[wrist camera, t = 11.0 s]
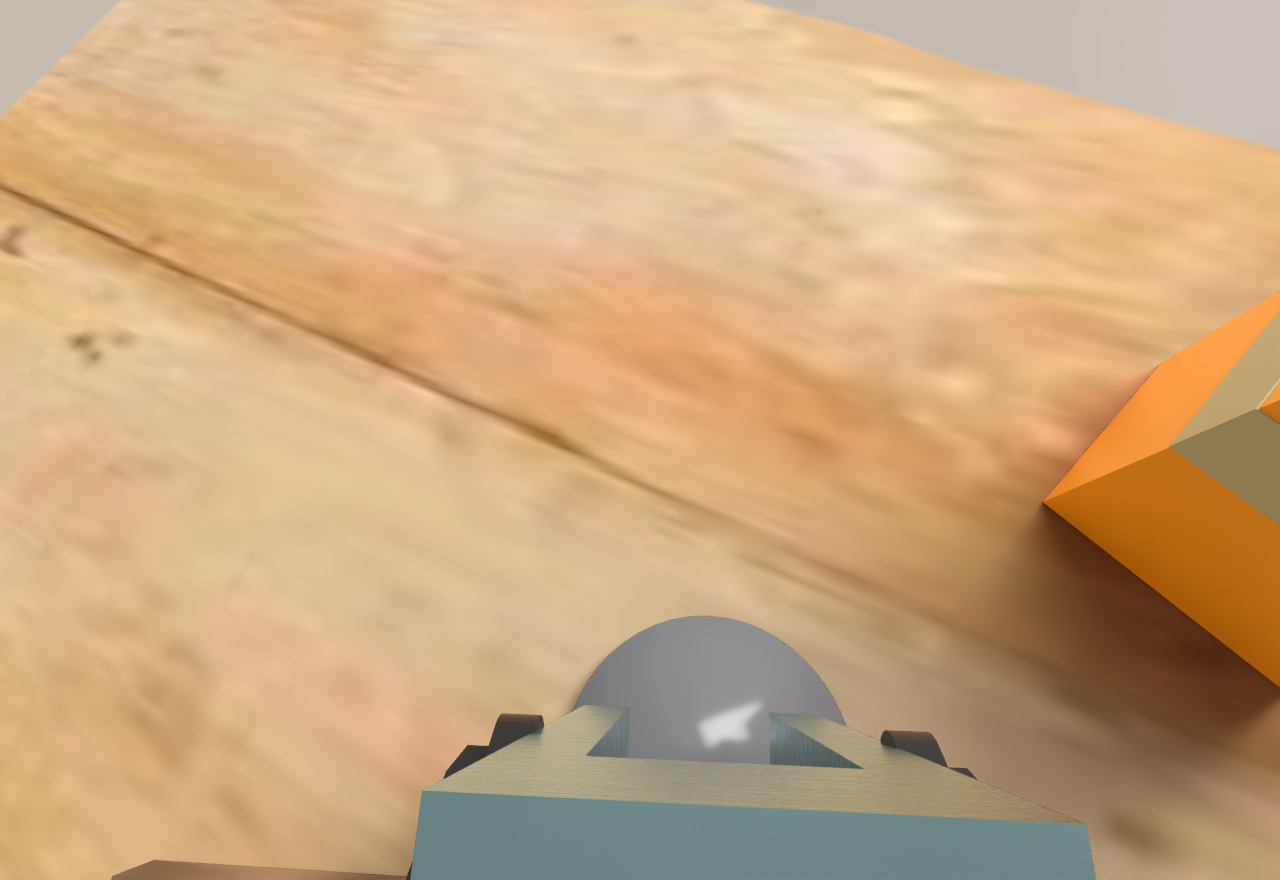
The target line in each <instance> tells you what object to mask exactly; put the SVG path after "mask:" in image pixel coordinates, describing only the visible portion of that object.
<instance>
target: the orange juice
mask: <svg viewBox="0 0 1280 880" xmlns="http://www.w3.org/2000/svg"><path fill="white" fill-rule="evenodd" d="M1043 503H1044V504H1046V505H1047V506H1048V507H1050V508H1051V509H1052V510H1053V511H1055V512H1056V513H1057V514H1059V515H1060V516H1061V517H1062V518H1064V519H1065V520H1066V521H1067V522H1069V523H1070V524H1071V525H1073V526H1074V527H1075V528H1076V529H1078V530H1079V531H1080V532H1082V533H1083V534H1084V535H1085V536H1087V537H1088V538H1089V539H1090V540H1092V541H1093V542H1094V543H1096V544H1097V545H1098V546H1099V547H1101V548H1102V549H1103V550H1105V551H1106V552H1107V553H1108V554H1110V555H1111V556H1112V557H1113V558H1115V559H1116V560H1117V561H1119V562H1120V563H1121V564H1122V565H1124V566H1125V567H1126V568H1128V569H1129V570H1130V571H1131V572H1133V573H1134V574H1135V575H1136V576H1138V577H1139V578H1140V579H1142V580H1143V581H1144V582H1145V583H1147V584H1148V585H1149V586H1151V587H1152V588H1153V589H1154V590H1156V591H1157V592H1158V593H1159V594H1161V595H1162V596H1163V597H1165V598H1166V599H1167V600H1168V601H1170V602H1171V603H1172V604H1174V605H1175V606H1176V607H1177V608H1179V609H1180V610H1181V611H1182V612H1184V613H1185V614H1186V615H1188V616H1189V617H1190V618H1191V619H1193V620H1194V621H1195V622H1197V623H1198V624H1199V625H1200V626H1202V627H1203V628H1204V629H1205V630H1207V631H1208V632H1209V633H1211V634H1212V635H1213V636H1214V637H1216V638H1217V639H1218V640H1219V641H1221V642H1222V643H1223V644H1225V645H1226V646H1227V647H1228V648H1230V649H1231V650H1232V651H1234V652H1235V653H1236V654H1237V655H1239V656H1240V657H1241V658H1242V659H1244V660H1245V661H1246V662H1248V663H1249V664H1250V665H1251V666H1253V667H1254V668H1255V669H1257V670H1258V671H1259V672H1260V673H1262V674H1263V675H1264V676H1265V677H1267V678H1268V679H1269V680H1271V681H1272V682H1273V683H1274V684H1276V685H1277V686H1278V687H1280V291H1279V292H1277V293H1275V294H1274V295H1272V296H1271V297H1269V298H1267V299H1266V300H1264V301H1262V302H1261V303H1259V304H1258V305H1256V306H1254V307H1253V308H1251V309H1249V310H1248V311H1246V312H1244V313H1243V314H1241V315H1240V316H1238V317H1236V318H1235V319H1233V320H1231V321H1230V322H1228V323H1226V324H1225V325H1223V326H1222V327H1220V328H1218V329H1217V330H1215V331H1213V332H1212V333H1210V334H1209V335H1207V336H1205V337H1204V338H1202V339H1200V340H1199V341H1197V342H1195V343H1194V344H1192V345H1191V346H1189V347H1187V348H1186V349H1184V350H1182V351H1181V352H1179V353H1178V354H1176V355H1174V356H1173V357H1171V358H1169V359H1168V360H1166V361H1164V362H1163V363H1161V364H1160V365H1159V366H1158V367H1157V368H1156V369H1155V371H1154V372H1153V373H1152V374H1151V375H1150V376H1149V378H1148V379H1147V380H1146V381H1145V382H1144V383H1143V385H1142V386H1141V387H1140V388H1139V389H1138V391H1137V392H1136V393H1135V394H1134V395H1133V396H1132V398H1131V399H1130V400H1129V401H1128V402H1127V403H1126V405H1125V406H1124V407H1123V408H1122V409H1121V410H1120V412H1119V413H1118V414H1117V415H1116V416H1115V418H1114V419H1113V420H1112V421H1111V422H1110V423H1109V425H1108V426H1107V427H1106V428H1105V429H1104V430H1103V432H1102V433H1101V434H1100V435H1099V436H1098V437H1097V439H1096V440H1095V441H1094V442H1093V443H1092V444H1091V446H1090V447H1089V448H1088V449H1087V450H1086V452H1085V453H1084V454H1083V455H1082V456H1081V457H1080V459H1079V460H1078V461H1077V462H1076V463H1075V464H1074V466H1073V467H1072V468H1071V469H1070V470H1069V471H1068V473H1067V474H1066V475H1065V476H1064V477H1063V478H1062V480H1061V481H1060V482H1059V483H1058V484H1057V486H1056V487H1055V488H1054V489H1053V490H1052V491H1051V493H1050V494H1049V495H1048V496H1047V497H1046V498H1045V500H1044V501H1043Z"/></svg>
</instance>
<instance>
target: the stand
mask: <svg viewBox="0 0 1280 880" xmlns="http://www.w3.org/2000/svg"><path fill="white" fill-rule="evenodd" d="M112 880H406V876H390V875H375V874H359V873H344V872H328V871H313V870H297V869H281V868H266V867H250V866H235V865H219V864H204V863H188V862H173V861H157V860H153V861H150V862H148V863H145V864H143V865H140V866H137V867H135V868H132V869H130V870H127V871H124V872H122V873H119V874H117V875H114V876H112Z"/></svg>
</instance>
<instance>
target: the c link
mask: <svg viewBox="0 0 1280 880" xmlns="http://www.w3.org/2000/svg"><path fill="white" fill-rule="evenodd" d="M629 713H630V707H619V706H595V705H583V706H582V707H580V708H578V709H576V710H574V711H572V712H570V713H568V714H566V715H565V716H563V717H561V718H559V719H557V720H555V721H553V722H551V723H549V724H547V725H546V726H544V728H542V729H540V730H538V731H536V732H534V733H530V734H528V735H527V736H525V737H523V738H521V739H519V740H517V741H515V742H513V743H511V744H509V745H508V746H506V747H504V748H502V749H500V750H498V751H496V752H494V753H492V754H491V755H489V756H487V757H485V758H483V759H481V760H479V761H477V762H475V763H473V764H472V765H470V766H468V767H466V768H464V769H462V770H460V771H458V772H456V773H454V774H453V775H451V776H449V777H447V778H445V779H443V780H441V781H439V782H437V783H436V784H434V785H432V786H430V787H428V788H426V789H424V790H422V796H421V804H420V811H419V819H418V826H417V834H416V841H415V848H414V856H413V863H412V871H411V878H410V880H1096V877H1095V872H1094V866H1093V860H1092V855H1091V849H1090V844H1089V838H1088V833H1087V827H1086V824H1085V823H1082V822H1080V821H1077V820H1075V819H1072V818H1070V817H1067V816H1065V815H1062V814H1060V813H1057V812H1055V811H1052V810H1050V809H1047V808H1045V807H1043V806H1040V805H1038V804H1035V803H1033V802H1030V801H1028V800H1025V799H1023V798H1020V797H1018V796H1015V795H1013V794H1010V793H1008V792H1006V791H1003V790H1001V789H998V788H996V787H993V786H991V785H988V784H986V783H983V782H981V781H978V780H976V779H973V778H971V777H968V776H966V775H964V774H961V773H959V772H956V771H954V770H951V769H949V768H946V767H944V766H941V765H939V764H936V763H934V762H931V761H929V760H927V759H924V758H922V757H919V756H917V755H914V754H912V753H909V752H907V751H904V750H902V749H896V748H894V747H892V746H889V745H887V744H884V743H882V742H880V740H877V739H875V738H872V737H870V736H867V735H865V734H862V733H860V732H857V731H855V730H852V729H850V728H848V727H845V726H843V725H840V724H838V723H835V722H833V721H830V720H828V719H825V718H823V717H820V716H818V715H813V714H789V713H769V742H770V765H766V764H745V763H723V762H701V761H680V760H658V759H637V758H628V740H629Z"/></svg>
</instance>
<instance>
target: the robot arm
mask: <svg viewBox="0 0 1280 880" xmlns="http://www.w3.org/2000/svg"><path fill="white" fill-rule="evenodd" d="M542 728H544V722H543V717H542V716H541V715H526V714H501V715H500V716H499V718H498V720H497V722H496V725H495V728H494V731H493V734H492V737H491V741H490V744H489V746H475V745H467V747H466V748H465V749H464V750H463V752H462V753H461V754H460V755H459V756H458V758H457V759H456V760H455V761H454V763H453V764H452V765H451V766H450V767H449V769H448V770H447V771H446V773H445V776H444V779H445V778H447V777H449V776H451V775H453V774H454V773H456V772H458V771H460V770H462V769H464V768H466V767H468V766H470V765H472V764H473V763H475V762H477V761H479V760H481V759H483V758H485V757H487V756H489V755H491V754H492V753H494V752H496V751H498V750H500V749H502V748H504V747H506V746H508V745H509V744H511V743H513V742H515V741H517V740H519V739H521V738H523V737H525V736H527V735H528V734H530V733H534V732H536V731H538V730H540V729H542ZM880 742H882V743H884V744H887V745H889V746H892V747H894V748H896V749H902V750H904V751H907V752H909V753H912V754H914V755H917V756H919V757H922V758H924V759H927V760H929V761H931V762H934V763H936V764H939V765H941V766H944V767H946V768H948V766H947V764H946V762H945V759H944V757H943V755H942V753H941V750H940V748H939V746H938V743H937V741H936V740H935V738H934V737H933V735H932V734H931V733H929V732H912V731H888V730H886V731H884V732H883V734H882V736H881V741H880ZM949 769H951V770H954V771H956V772H959V773H961V774H964V775H966V776H968V777H971V778H973V779H976V778H975V777H974V775H973V774H972V773H971V772H970V771H969V770H968V769H967V768H949ZM976 780H977V779H976ZM412 863H413V861H412ZM411 871H412V864H411V867H410V869H409V872H408V875H407V877H406V880H410V878H411Z"/></svg>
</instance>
